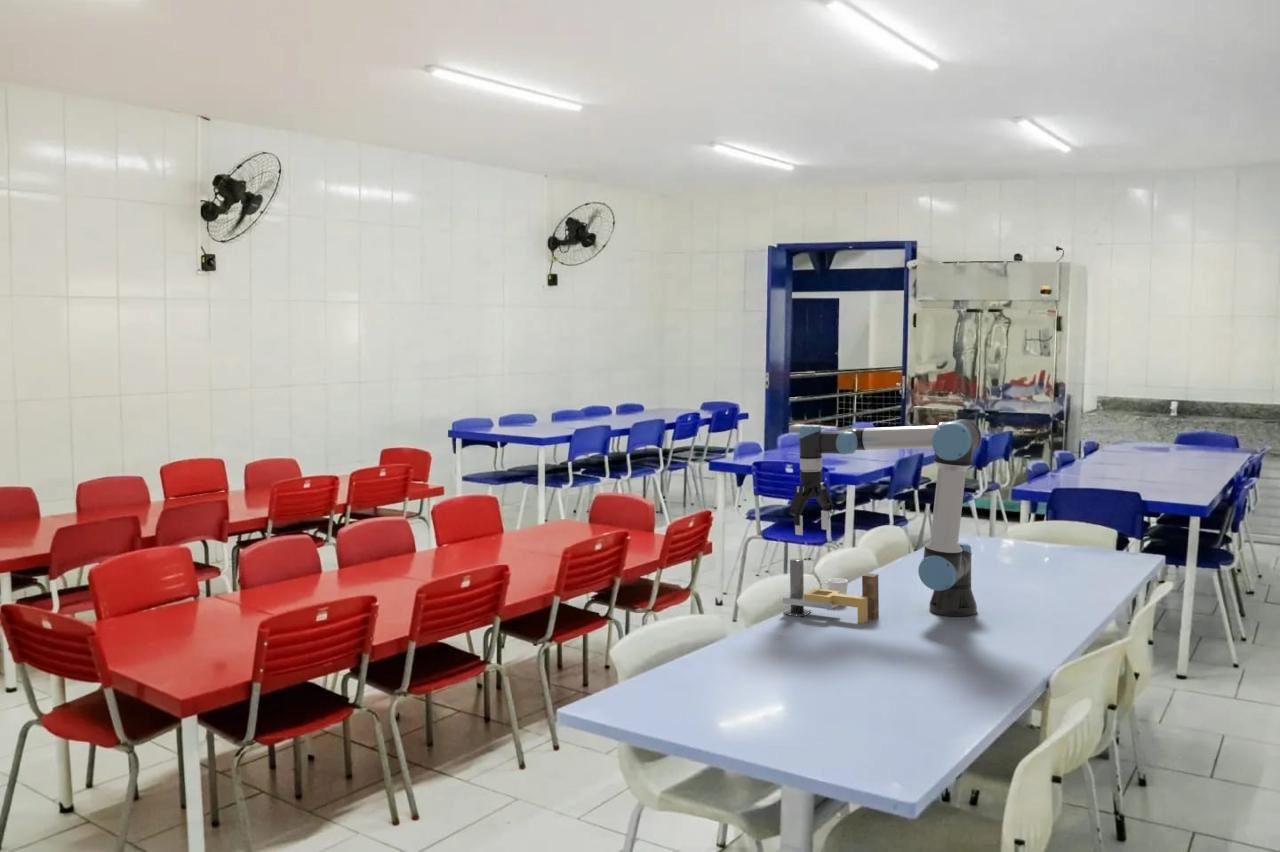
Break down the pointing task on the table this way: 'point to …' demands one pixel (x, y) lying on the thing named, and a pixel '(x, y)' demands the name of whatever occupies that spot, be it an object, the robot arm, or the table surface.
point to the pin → (871, 594)
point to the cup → (837, 585)
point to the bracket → (840, 601)
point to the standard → (800, 592)
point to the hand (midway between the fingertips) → (812, 532)
